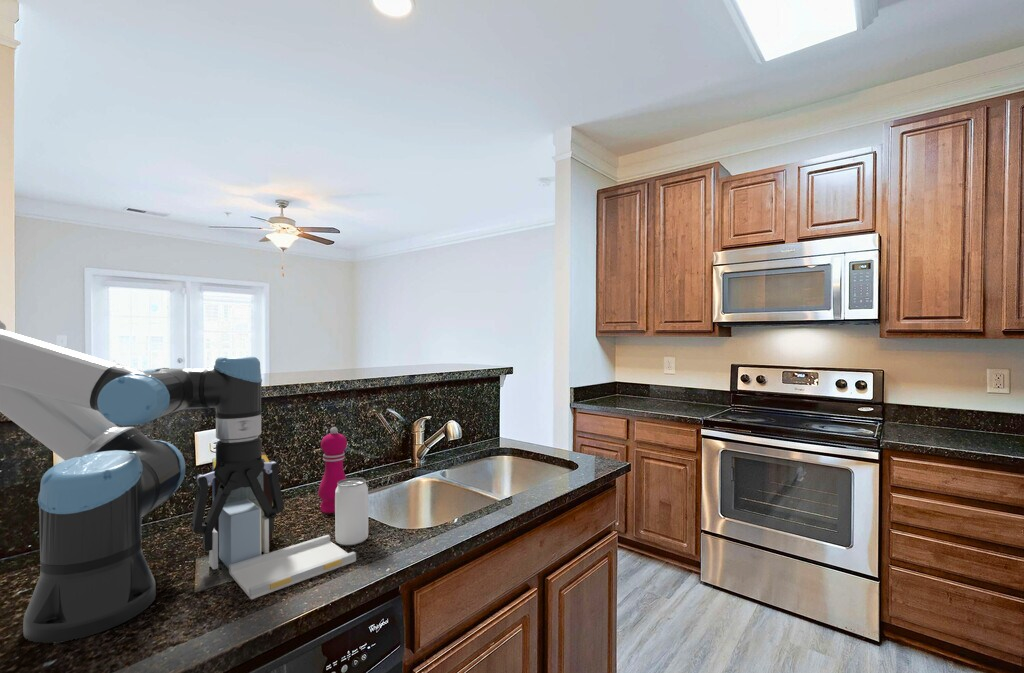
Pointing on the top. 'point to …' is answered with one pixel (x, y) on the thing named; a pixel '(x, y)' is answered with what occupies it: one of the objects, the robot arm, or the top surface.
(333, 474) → the pepper mill
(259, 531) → the tea box
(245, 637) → the top surface
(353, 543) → the can
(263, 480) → the protein box
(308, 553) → the white tray
